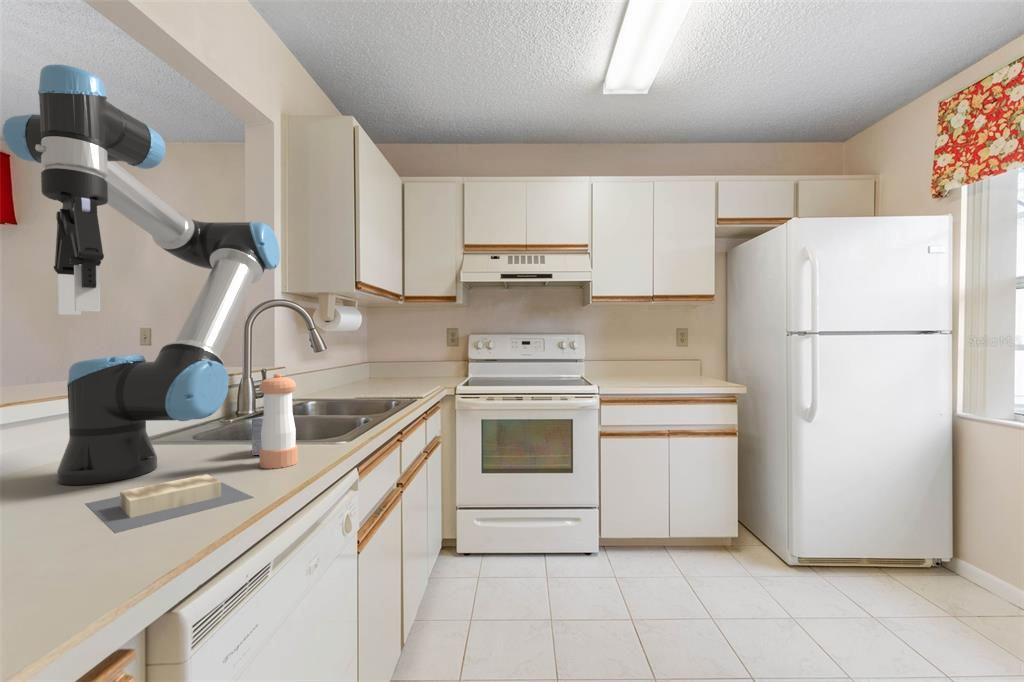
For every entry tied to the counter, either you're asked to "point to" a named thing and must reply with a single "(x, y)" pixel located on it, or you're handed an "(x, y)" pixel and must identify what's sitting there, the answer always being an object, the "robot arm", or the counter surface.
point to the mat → (121, 521)
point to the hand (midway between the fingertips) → (78, 313)
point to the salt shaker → (278, 423)
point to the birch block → (169, 495)
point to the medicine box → (256, 435)
